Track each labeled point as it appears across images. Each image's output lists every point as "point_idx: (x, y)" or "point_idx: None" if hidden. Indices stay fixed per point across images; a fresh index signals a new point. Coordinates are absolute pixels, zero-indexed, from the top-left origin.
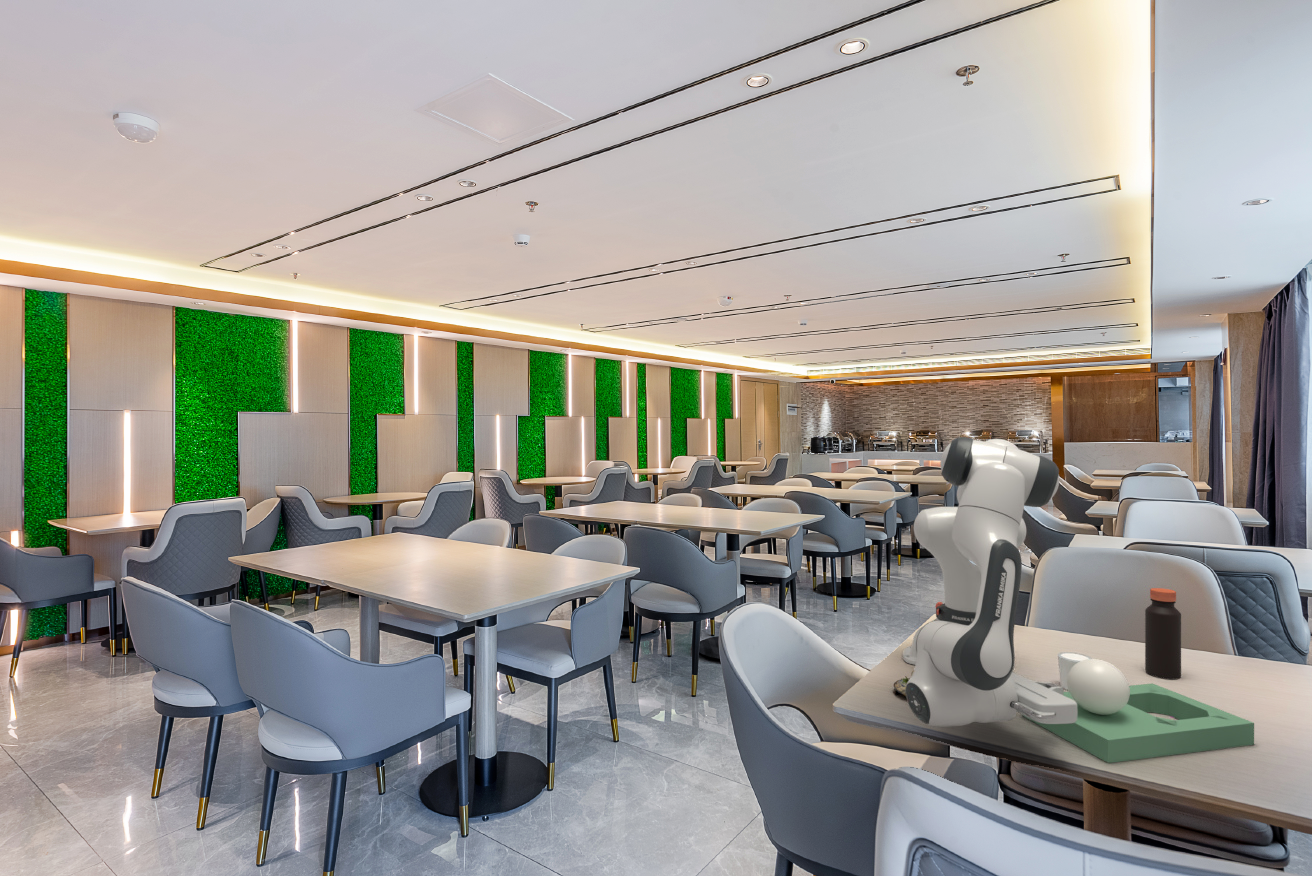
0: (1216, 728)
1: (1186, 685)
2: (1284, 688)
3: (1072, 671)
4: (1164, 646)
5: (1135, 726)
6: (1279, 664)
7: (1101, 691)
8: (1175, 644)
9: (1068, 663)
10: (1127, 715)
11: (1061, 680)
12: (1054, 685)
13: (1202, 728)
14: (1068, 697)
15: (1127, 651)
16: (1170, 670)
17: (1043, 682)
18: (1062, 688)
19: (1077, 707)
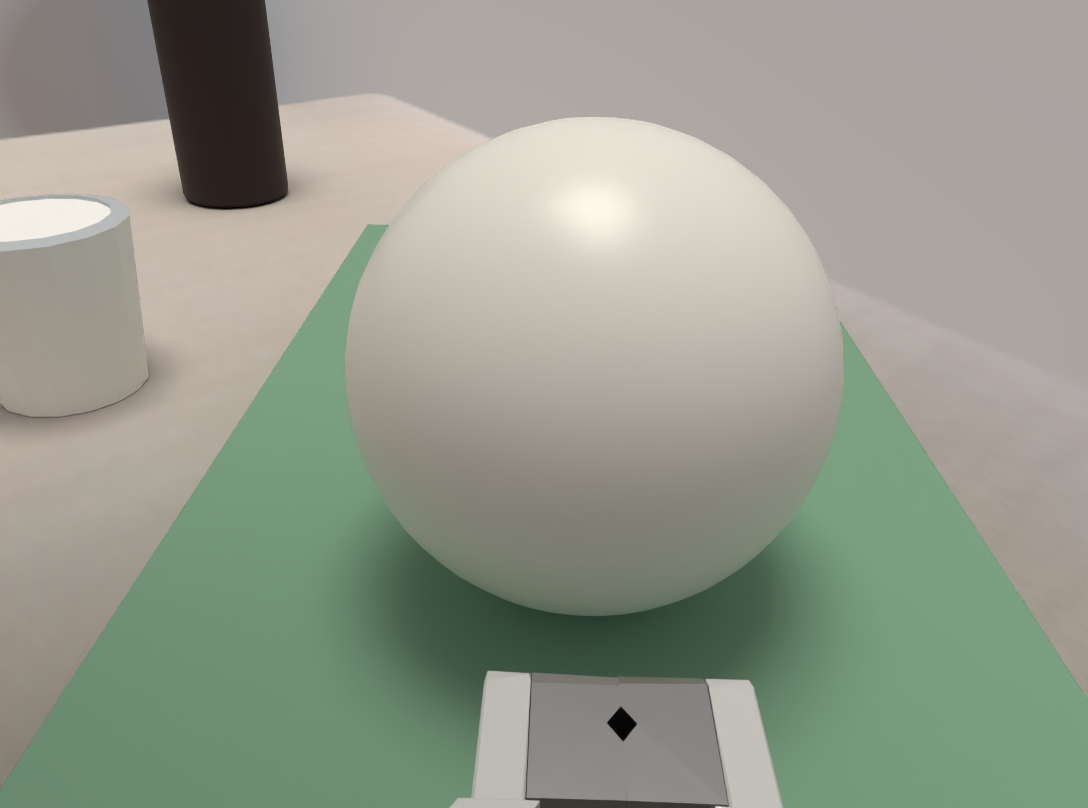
0: None
1: (330, 203)
2: (456, 139)
3: (483, 336)
4: (245, 84)
5: (837, 526)
6: (354, 99)
7: (819, 420)
8: (268, 69)
9: (25, 269)
10: None
11: (4, 380)
12: (656, 727)
13: (850, 342)
14: (275, 531)
15: (59, 162)
16: (271, 169)
17: (478, 795)
18: (747, 689)
19: (449, 603)
